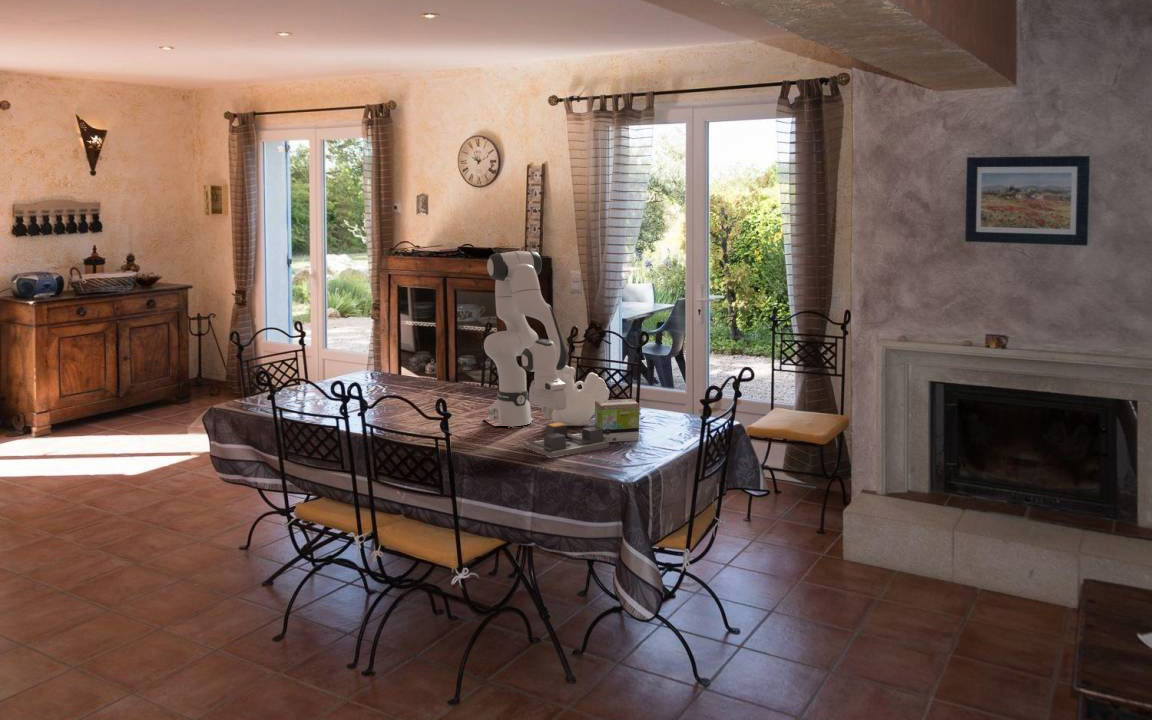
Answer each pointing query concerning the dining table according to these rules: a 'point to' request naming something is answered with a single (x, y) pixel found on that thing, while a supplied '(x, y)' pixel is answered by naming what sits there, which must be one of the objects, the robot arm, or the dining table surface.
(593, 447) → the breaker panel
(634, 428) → the tea box
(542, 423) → the dining table surface
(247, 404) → the dining table surface
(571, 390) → the decorative rooster
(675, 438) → the dining table surface
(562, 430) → the block
